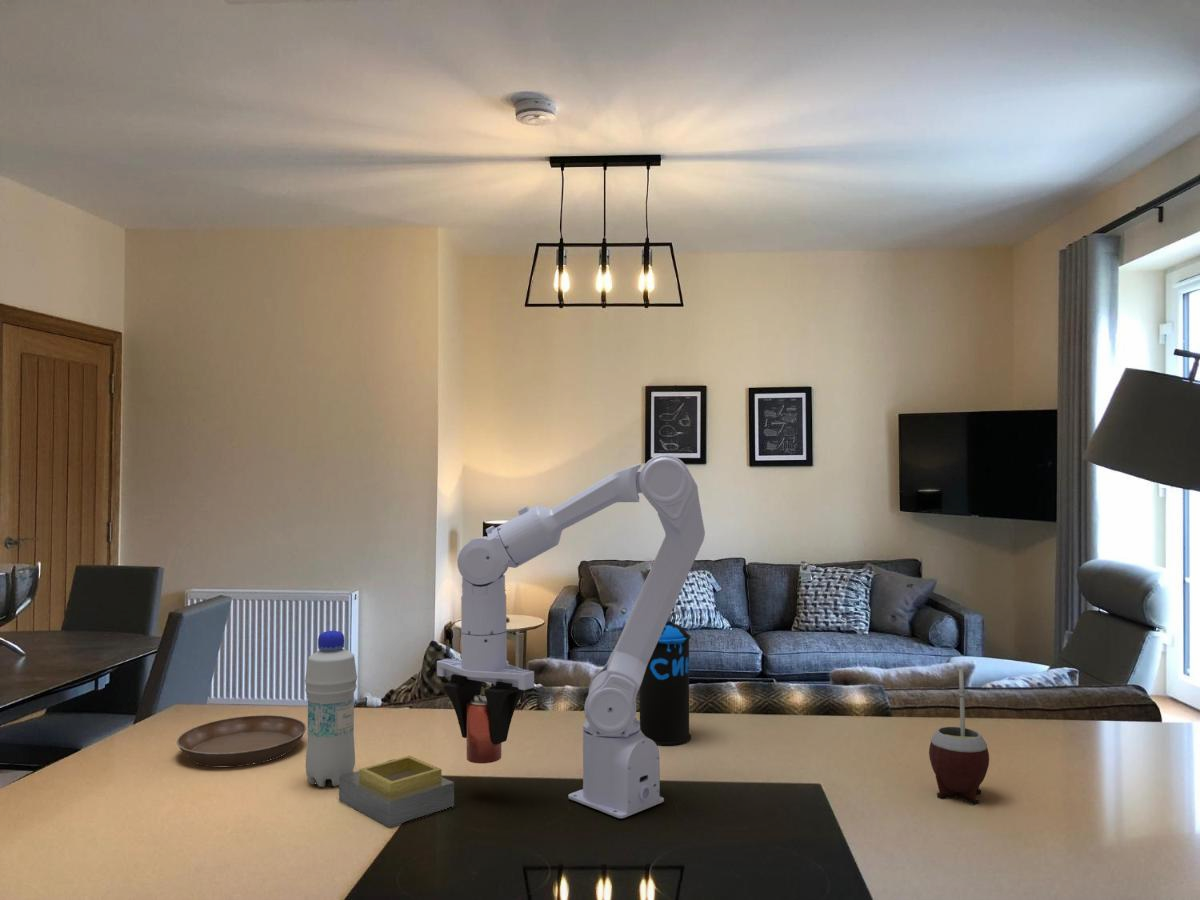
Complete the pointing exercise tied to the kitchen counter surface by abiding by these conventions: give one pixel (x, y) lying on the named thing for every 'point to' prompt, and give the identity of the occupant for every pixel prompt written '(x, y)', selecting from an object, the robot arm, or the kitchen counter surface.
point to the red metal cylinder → (480, 733)
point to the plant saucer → (241, 740)
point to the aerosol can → (667, 689)
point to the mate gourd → (959, 757)
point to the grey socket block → (397, 790)
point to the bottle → (330, 710)
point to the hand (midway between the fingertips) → (484, 739)
